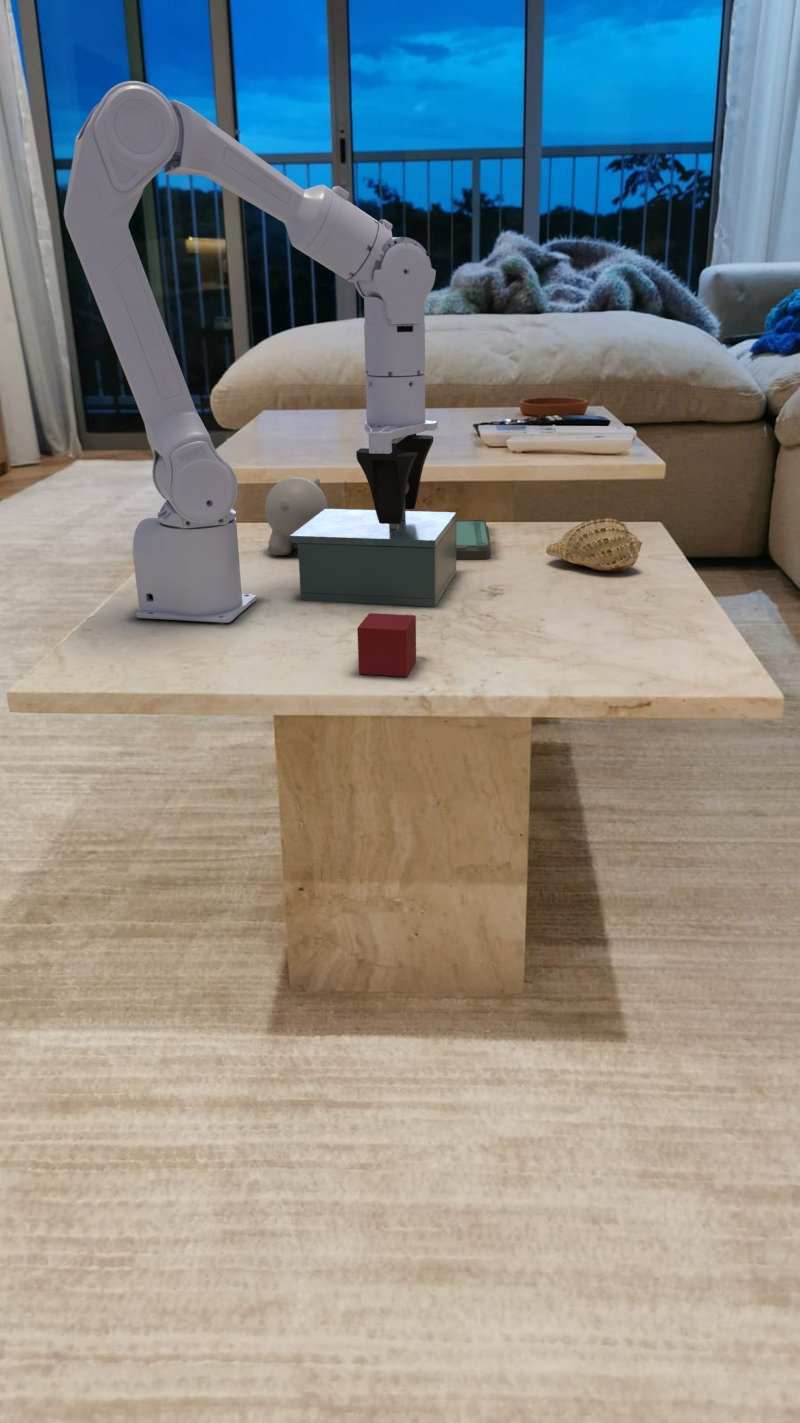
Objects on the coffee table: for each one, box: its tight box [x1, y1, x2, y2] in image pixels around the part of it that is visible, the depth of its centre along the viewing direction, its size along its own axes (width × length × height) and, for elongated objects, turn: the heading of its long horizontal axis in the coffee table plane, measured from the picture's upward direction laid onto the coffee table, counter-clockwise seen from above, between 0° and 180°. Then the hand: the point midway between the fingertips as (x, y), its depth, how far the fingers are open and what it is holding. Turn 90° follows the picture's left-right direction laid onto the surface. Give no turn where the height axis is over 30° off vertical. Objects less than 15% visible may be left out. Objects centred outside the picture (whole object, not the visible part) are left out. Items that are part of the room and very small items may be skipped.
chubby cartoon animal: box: [264, 476, 329, 556], centre depth 125 cm, size 7×12×8 cm, turn 171°
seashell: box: [545, 517, 643, 573], centre depth 116 cm, size 8×6×10 cm
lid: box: [290, 482, 458, 548], centre depth 108 cm, size 14×13×5 cm
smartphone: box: [456, 519, 492, 560], centre depth 127 cm, size 7×1×15 cm
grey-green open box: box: [297, 519, 458, 608], centre depth 110 cm, size 14×13×6 cm
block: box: [356, 612, 417, 678], centre depth 88 cm, size 4×4×4 cm
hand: (397, 515), depth 108 cm, fingers open, 6 cm apart
